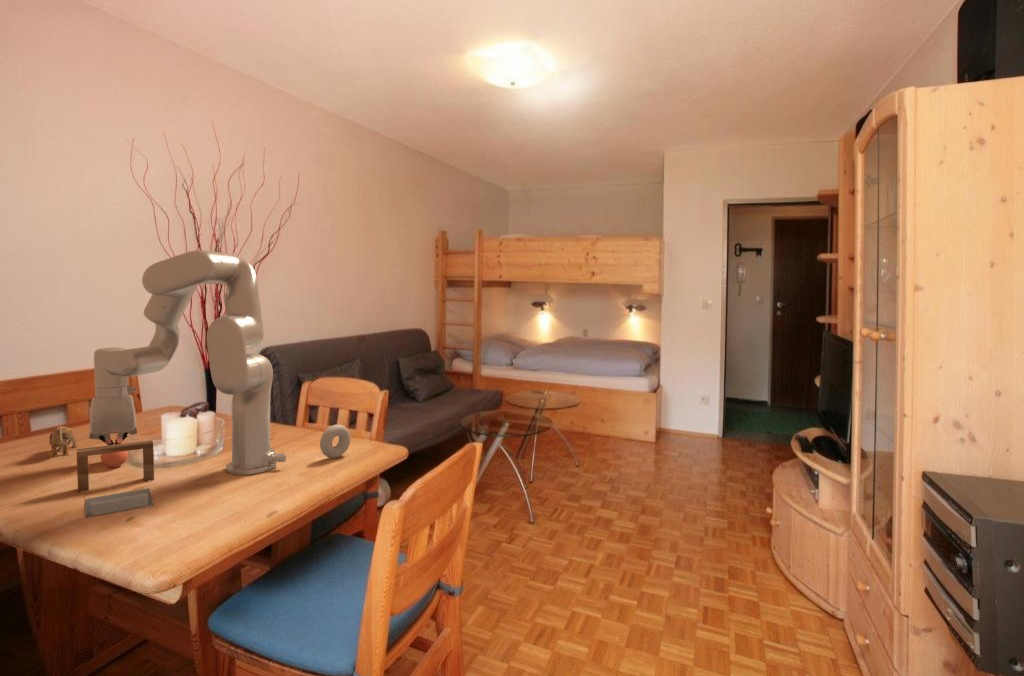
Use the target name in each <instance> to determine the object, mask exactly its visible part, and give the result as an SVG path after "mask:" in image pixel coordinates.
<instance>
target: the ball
mask: <svg viewBox="0 0 1024 676" xmlns="http://www.w3.org/2000/svg"><path fill="white" fill-rule="evenodd" d="M128 458H129V451H122V452H114V453H106V454H100V461H101V463H102V464H103V465H104V466H106V467H109V468H117V467H119V466H122V465H123V464H125V462H127V460H128Z"/></svg>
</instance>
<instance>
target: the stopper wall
mask: <svg viewBox="0 0 1024 676" xmlns="http://www.w3.org/2000/svg"><path fill="white" fill-rule="evenodd" d="M142 506H147V507H149V506H148V493H143V494H137V495H131V496H125V497H120V498H114V499H108V500H102V501H97V502H91V515H92V516H93V517H95V516H94V515H99V514H104V515H106V514H105V513H110V512H115V513H117V512H116V511H120V512H122V511H121V510H126V509H131V510H133V509H132V508H136V509H138V508H137V507H142ZM142 508H143V507H142ZM126 511H127V510H126ZM110 514H111V513H110ZM99 516H100V515H99Z"/></svg>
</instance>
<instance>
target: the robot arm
mask: <svg viewBox="0 0 1024 676" xmlns="http://www.w3.org/2000/svg"><path fill="white" fill-rule="evenodd" d="M141 283H142V286H143V288H144V290H145V291H146V292H147V293H149V294H150V295H151V296H150V298H149V300H148V302H147V303H146V306H145V307H144V309H143V315H144V317H145V318H146V319H147V320H148V321H150V322H151V323H153V324H154V326H155V333H154V335H153V336H152V339H151V341H150V343H149V345H147V346H143V347H136V348H135V347H134V348H128V349H125V347H113V346H112V347H102V348H98V349H96V350H94V353H93V366H94V369H93V370H94V391H95V392H94V395H95V397H91V401H90V411H89V412H90V413H89V428H90V432H89V439H90V440H100V441H102V442H103V443H105V445H106V446H107V445H115V444H122V443H123V441H125V440H126V438H128V436H127V434H128V433H129V434H131V436H133V435H136V434H138V429H137V427H136V425H137V416H136V406H135V401H134V397H133V395H132V394H131V393H133V392H136V386H131V385H130V378H131V377H132V378H133V377H134V378H135V377H139V376H143V375H149V374H151V373H157V372H161V371H162V370H163V369H165V368H166V367H168V365H169V363H170V362H171V360H172V358H173V357H174V355H175V353H176V351H177V349H178V347H179V344H180V343H179V342H180V328H179V322H180V320H181V318H182V317H183V316H184V315H183V314H184V312H185V310H186V309H187V307H188V306H189V303H190V301H191V300H192V298H193V296H194V294H195V292H196V290H197V288H198V285H202V284H203V285H204V284H205V285H207V284H208V285H209V284H210V285H225V286H226V289H225V293H224V300H223V303H224V307H225V315H222V316H220V317H217V318H216V319H214V320H213V321H212V322H211V323H210V324H209V327H208V329H207V333H206V345H207V354H208V360H209V369H210V370H209V371H210V375H211V379H212V383H213V385H214V387H215V388H216V390H218V391H219V392H220V393H221V394H223V395H229V396H232V398H231V458H232V459H231V461H230V462H227V464H225V471H226V472H227V473H228V474H232V475H254V474H260V473H264V472H267V471H270V470H272V469H275V467H276V466H277V463H286V461H287V454H285V453H284V452H281V453H280V452H279V453H276V452H274V451H275V450H274V447H273V448H271V393H272V385H273V379H274V369H273V365H272V363H271V361H270V360H269V359H268V358H267V357H265V356H264V355H262V354H259V353H247V350H250V349H253V348H255V347H258V346H259V345H261V343H262V342H263V340H264V334H265V333H264V325H263V317H262V309H261V303H260V294H259V293H260V292H259V281H258V276H257V273H256V271H255V269H254V266H253V265H251V263H250V262H249V261H247V260H246V259H245V258H242V257H240V256H238V255H236V254H235V255H234V254H231V253H227V252H220V251H211V250H210V251H209V250H205V249H202V250H201V249H200V250H199V249H196V250H191V251H187V252H184V253H181V254H179V255H178V254H177V255H176V256H173V257H169V258H166V259H163V260H160V261H157V262H155V263H153V264H151V265H149V266H148V267H147V268H146V269H145V270H144V272H143V275H142V279H141ZM111 434H117V435H116V439H115V440H114V441H115V442H114V441H113V440H112V437H111Z"/></svg>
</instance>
